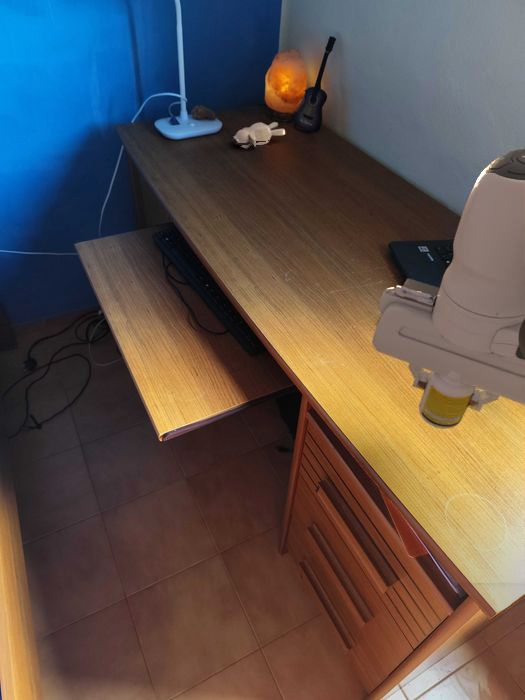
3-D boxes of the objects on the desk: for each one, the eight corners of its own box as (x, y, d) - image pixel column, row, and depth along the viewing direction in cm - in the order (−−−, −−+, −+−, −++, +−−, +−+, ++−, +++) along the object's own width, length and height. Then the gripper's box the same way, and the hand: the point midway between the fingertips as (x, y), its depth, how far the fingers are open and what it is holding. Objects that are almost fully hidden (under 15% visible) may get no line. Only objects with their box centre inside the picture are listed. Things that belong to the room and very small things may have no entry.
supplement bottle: (466, 430, 58) (491, 379, 51) (423, 430, 58) (441, 379, 51) (455, 396, 62) (476, 344, 55) (414, 396, 62) (430, 345, 55)
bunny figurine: (229, 127, 142) (274, 114, 144) (232, 144, 146) (275, 130, 148) (239, 139, 136) (286, 124, 138) (242, 156, 140) (287, 141, 142)
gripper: (372, 297, 50) (358, 381, 60) (587, 365, 42) (529, 449, 52) (393, 266, 53) (376, 350, 63) (593, 324, 46) (539, 409, 56)
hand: (446, 395), depth 58 cm, fingers closed on supplement bottle, 5 cm apart
